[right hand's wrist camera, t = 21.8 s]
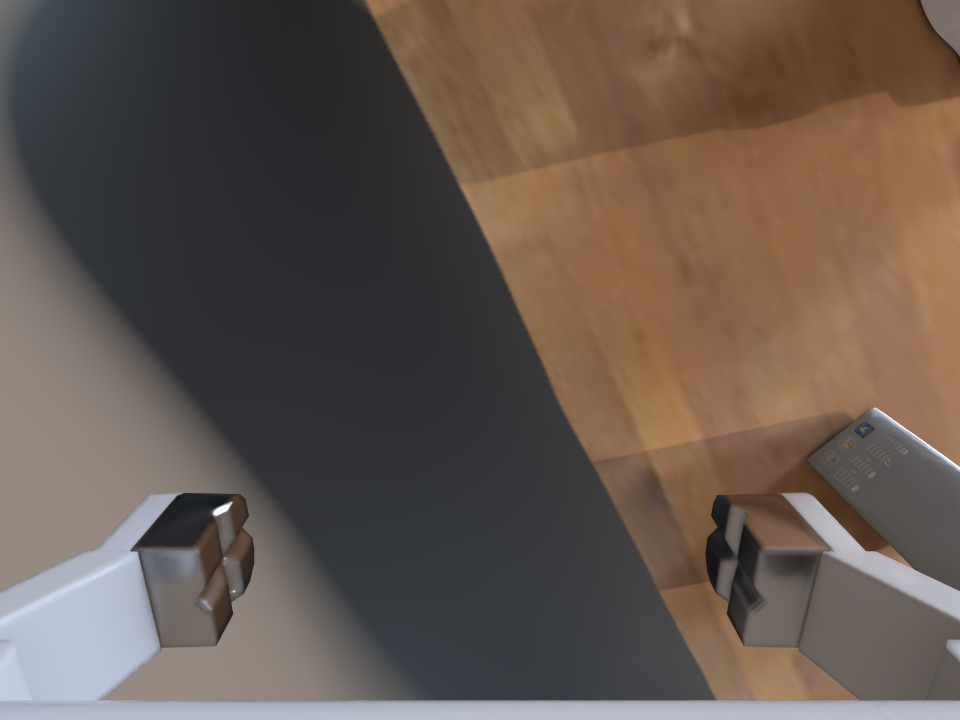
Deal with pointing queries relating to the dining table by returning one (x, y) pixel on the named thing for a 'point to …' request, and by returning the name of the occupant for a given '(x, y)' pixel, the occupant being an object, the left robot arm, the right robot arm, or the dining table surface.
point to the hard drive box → (898, 491)
